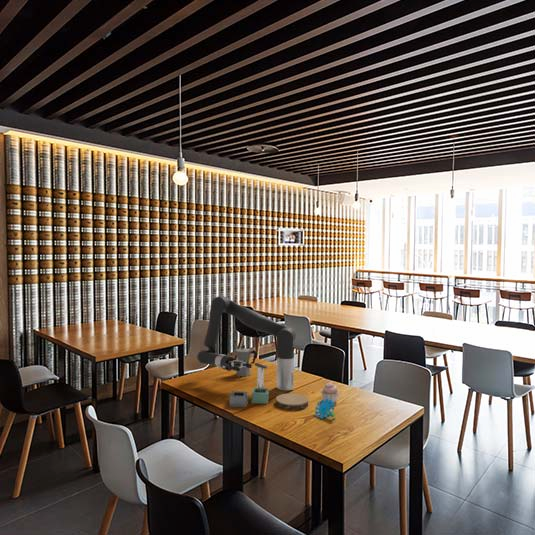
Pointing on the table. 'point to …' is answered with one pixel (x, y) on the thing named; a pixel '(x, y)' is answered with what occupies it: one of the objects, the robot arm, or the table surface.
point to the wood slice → (292, 401)
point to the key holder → (260, 396)
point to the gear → (325, 409)
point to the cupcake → (330, 392)
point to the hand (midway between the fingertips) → (245, 367)
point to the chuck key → (260, 377)
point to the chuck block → (238, 399)
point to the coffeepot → (245, 355)
